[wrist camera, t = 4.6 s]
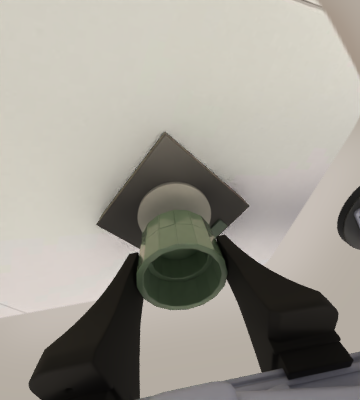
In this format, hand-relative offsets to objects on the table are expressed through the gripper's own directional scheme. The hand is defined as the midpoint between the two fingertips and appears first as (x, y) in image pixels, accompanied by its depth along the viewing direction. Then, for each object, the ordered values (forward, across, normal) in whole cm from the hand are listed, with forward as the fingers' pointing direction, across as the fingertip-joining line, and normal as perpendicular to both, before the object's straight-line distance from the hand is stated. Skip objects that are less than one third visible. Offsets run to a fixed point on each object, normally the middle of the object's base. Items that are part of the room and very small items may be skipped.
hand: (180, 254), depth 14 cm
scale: (+8, 0, 0) cm, 8 cm away
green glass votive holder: (+2, 0, 0) cm, 2 cm away
